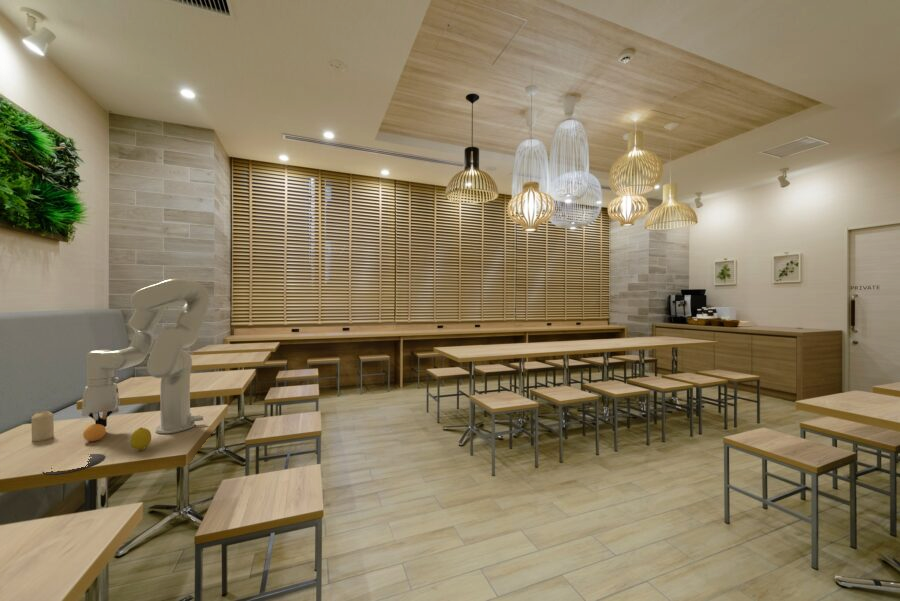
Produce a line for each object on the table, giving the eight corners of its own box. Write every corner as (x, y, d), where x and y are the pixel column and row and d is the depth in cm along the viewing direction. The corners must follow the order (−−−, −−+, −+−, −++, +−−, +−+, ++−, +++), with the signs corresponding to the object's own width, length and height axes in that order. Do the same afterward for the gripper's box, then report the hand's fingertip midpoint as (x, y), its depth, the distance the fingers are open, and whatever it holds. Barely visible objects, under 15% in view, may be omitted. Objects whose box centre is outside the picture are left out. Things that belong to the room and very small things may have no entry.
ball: (107, 436, 140) (107, 420, 140) (103, 441, 135) (103, 425, 135) (86, 439, 137) (85, 423, 137) (81, 445, 132) (80, 428, 132)
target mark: (110, 451, 127) (110, 450, 127) (98, 467, 115) (98, 466, 115) (52, 460, 120) (52, 460, 120) (33, 479, 108) (33, 478, 108)
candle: (28, 442, 135) (27, 415, 134) (37, 437, 140) (36, 410, 139) (48, 440, 137) (48, 413, 137) (57, 434, 142) (56, 408, 142)
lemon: (139, 454, 124) (139, 430, 124) (126, 453, 126) (126, 429, 125) (155, 447, 130) (155, 425, 130) (142, 446, 131) (142, 424, 131)
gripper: (128, 378, 151) (128, 422, 151) (77, 382, 143) (77, 429, 143) (123, 381, 145) (124, 428, 145) (70, 386, 137) (71, 436, 137)
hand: (101, 428), depth 144 cm, fingers closed
